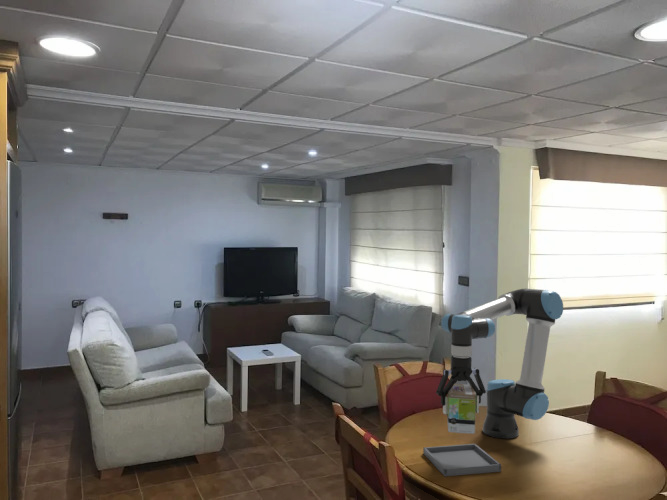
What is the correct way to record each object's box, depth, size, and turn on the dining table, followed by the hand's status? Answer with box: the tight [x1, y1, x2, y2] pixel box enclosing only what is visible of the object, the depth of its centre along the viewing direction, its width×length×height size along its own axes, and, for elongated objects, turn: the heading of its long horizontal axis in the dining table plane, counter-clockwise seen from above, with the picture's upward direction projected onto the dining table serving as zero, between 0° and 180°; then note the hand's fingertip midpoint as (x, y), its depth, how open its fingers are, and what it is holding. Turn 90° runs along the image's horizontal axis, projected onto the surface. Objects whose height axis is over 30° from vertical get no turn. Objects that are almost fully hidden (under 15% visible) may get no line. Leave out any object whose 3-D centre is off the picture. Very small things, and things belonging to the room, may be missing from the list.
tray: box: [422, 443, 502, 477], centre depth 205 cm, size 22×21×2 cm
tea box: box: [446, 383, 476, 435], centre depth 205 cm, size 15×10×15 cm, turn 169°
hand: (460, 412), depth 205 cm, fingers closed on tea box, 12 cm apart
